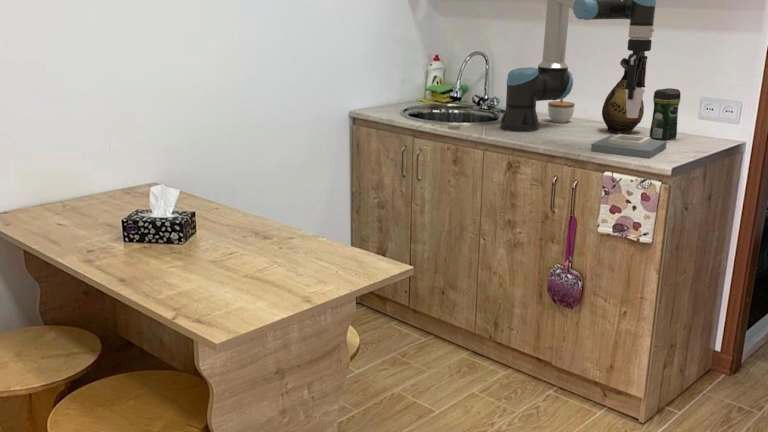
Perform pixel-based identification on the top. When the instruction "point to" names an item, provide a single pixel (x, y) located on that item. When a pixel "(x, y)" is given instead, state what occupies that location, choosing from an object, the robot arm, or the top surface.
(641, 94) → the smoothie
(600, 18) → the robot arm
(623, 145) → the plinth
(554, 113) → the lidded jar
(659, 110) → the coffee jar
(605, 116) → the ceramic jug
